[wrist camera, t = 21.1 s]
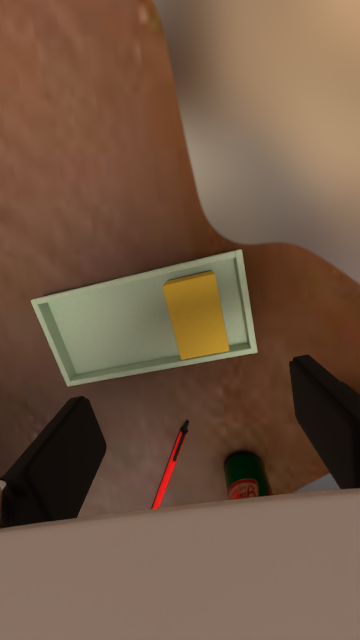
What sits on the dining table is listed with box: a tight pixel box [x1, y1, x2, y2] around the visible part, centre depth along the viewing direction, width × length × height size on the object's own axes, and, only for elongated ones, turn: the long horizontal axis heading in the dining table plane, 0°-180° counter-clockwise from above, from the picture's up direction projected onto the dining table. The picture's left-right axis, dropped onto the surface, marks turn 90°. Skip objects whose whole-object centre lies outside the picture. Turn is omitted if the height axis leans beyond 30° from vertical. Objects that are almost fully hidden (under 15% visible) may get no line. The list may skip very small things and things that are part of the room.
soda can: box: [224, 453, 273, 500], centre depth 24 cm, size 5×5×12 cm
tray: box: [31, 249, 257, 386], centre depth 23 cm, size 21×10×2 cm, turn 103°
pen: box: [152, 421, 189, 509], centre depth 30 cm, size 1×19×1 cm, turn 164°
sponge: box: [162, 270, 230, 360], centre depth 21 cm, size 4×7×4 cm, turn 13°
